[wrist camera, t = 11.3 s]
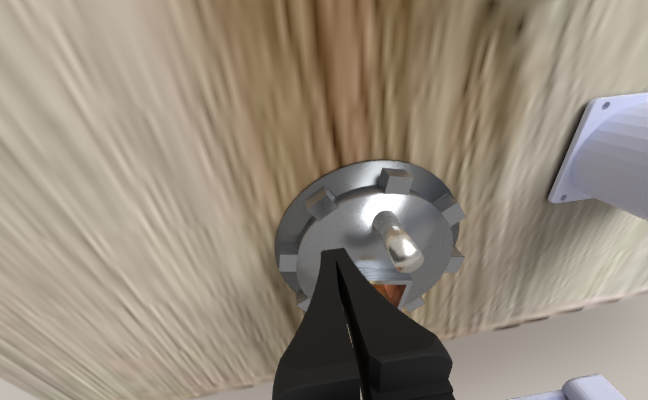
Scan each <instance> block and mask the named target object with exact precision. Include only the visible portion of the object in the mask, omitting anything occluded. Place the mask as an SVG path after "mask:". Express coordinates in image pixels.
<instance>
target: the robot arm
mask: <svg viewBox="0 0 648 400" xmlns="http://www.w3.org/2000/svg"><path fill="white" fill-rule="evenodd" d="M591 198H596V199H598V200H600V201H603V202H605V203H607V204H609V205H612V206H614V207H616V208H619V209H621V210H623V211H626V212H628V213H630V214H633V215H635V216H637V217H640V218H642V219H644V220H647V221H648V92H645V93H636V94H627V95H619V96H610V97H601V98H595V99H593V100H592V101H590V102H589V103H588V105H587V106H586V109H585V111H584V114H583V116H582V118H581V121H580V123H579V125H578V128H577V130H576V133H575V135H574V137H573V140H572V142H571V144H570V147H569V149H568V152H567V154H566V156H565V159H564V161H563V163H562V166H561V168H560V170H559V173H558V175H557V178H556V180H555V182H554V185H553V187H552V189H551V192H550V194H549V197H548V201H549V202H551V203H554V204H556V203H563V202H570V201H577V200H584V199H591ZM342 307H343V308H342ZM343 310H344V312H343ZM344 314H345V316H344ZM345 317H346V320H345ZM346 321H347V324H348V328H349V332H350V336H351V340H350V336H349V332H348V328H347V324H346ZM351 341H352V343H351ZM352 346H353V347H352ZM452 363H453V362H452V360H451V358H450V356H449V354H448V352H447V350H446V349H445V347H444V346H443V344H442V343H441V341H440V340H439V339H438V337H437V336H436V335H435V334H434V333H432V332H430V331H429V330H427V329H426V328H424V327H422V326H421V325H419V324H418V323H416V322H415V321H414V320H412V319H411V318H409V317H408V316H407V315H405V314H404V313H403V312H401V311H400V310H399V309H398V308H396V307H395V306H394V305H393V304H391V303H390V302H389V301H388V300H387V299H386V298H385V297H384V296H383V295H382V294H381V293H379V292H378V291H377V290H376V289H375V287H374V286H373V285H372V284H371V283H370V282H369V281H368V280H367V279H366V277H365V276H364V275H363V274H362V273H361V271H360V270H359V269H358V268H357V266H356V265H355V263H354V262H353V261H352V259H351V258H350V256H349V254H348V253H347V251H346V249H345V248H337V249H330V250H323V251H322V252H321V262H320V269H319V274H318V279H317V282H316V286H315V289H314V293H313V296H312V299H311V301H310V304H309V307H308V309H307V311H306V314H305V316H304V318H303V320H302V322H301V324H300V326H299V328H298V330H297V332H296V334H295V336H294V338H293V339H292V341H291V343H290V345H289V346H288V348H287V349H286V351H285V352H284V354H283V356H282V357H281V359H280V362H279V365H278V368H277V372H276V375H275V380H274V385H273V394H272V400H360V388H361V393H362V399H363V400H455V398H454V396H453V394H452V393H453V388H452V386H451V384H450V382H449V380H448V378H449V374H450V372H451V368H452ZM507 400H626V399H625V398H624V397H623V396H622V395H621V394H620V393H619V392H618V391H617V390H616V389H615V388H614V387H613V386H612V385H611V384H610V383H609V382H608V381H607V380H606V379H605V378H604V377H603V376H602V375H600V374H594V375H588V376H582V377H577V378H573V379H570V380H568V381H567V382H566V383H565V384H564V385H563V387H562V390H557V391H551V392H546V393H540V394H535V395H529V396H524V397H518V398H513V399H507Z"/></svg>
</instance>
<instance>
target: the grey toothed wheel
mask: <svg viewBox="0 0 648 400" xmlns="http://www.w3.org/2000/svg"><path fill="white" fill-rule="evenodd" d="M412 181H413V177H412V176H411V175H410V174H409V173H408V172H407V171H406V170H405V169H393V168H382V170H381V174H380V178H379V182H378V185H369V186H363V187H359V188H356V189H352V190H350V191H347V192H345V193H342V194H340V195H338V196H337V197H334V196H333V195H332V194H331V192H330V191H329V190H328V189H327V188H326V187H325V186H322V187H321V188H320V189H318V190H317V191H316V192H314V193H313V194H312V195H311V196H309V197H308V198H307V199H306V206H307V210H308V211H309V212H310V213H311V214H312V217H311V218H310V219H309V220H308V222H307V223H306V225H305V226H304V228H303V230H302V232H301V234H300V236H299V239H298V242H281V246H280V264H279V272H297V278H298V282H299V284H300V286H301V289H300V290H298V291H297V306H298V307H299V308H301V309H302V310H304V311H305V312H306V311H307V309H308V307H309V304H310V301H311V299H312V296H313V293H314V289H315V286H316V282H317V279H318V274H319V269H320V262H321V252H322V251H323V250H330V249H337V248H345V249H346V251H347V253H348V254H349V256H350V258H351V259H352V261H353V262H354V263H355V265H356V266H357V268H358V269H359V270H360V271H361V273H362V274H363V275H364V276H365V277H366V279H367V280H368V281H369V282H370V283H371V284H372V285H383V286H384V287H385V289H386V292H387V294H388V297H389V299H390V302H391V304H393V305H394V306H395V307H396V308H398V309H399V310H400V311H401V310H402V307H403V306H404V307H405V308H406V309H407V310H408V311H409V312H411V311H413V310H415V309H416V308H418V307H420V306H422V305H423V304H425V302H424V300H423V298H422V297H421V296H422V295H423V294H424V293H425V292H427V291H428V290H429V289H430V288H431V287H432V286H433V285H434V284H435V283H436V282H437V281H438V280H439V278H440V277H441V276H442V274H443V273H444V272H458V270H459V268H460V266H461V264H462V262H463V260H464V258H465V257H464V256H463V255H462V254H461V253H460V252H459V251H458V250H457V248H456V247H455V246H453V235H452V231H451V228H450V227H451V226H452V225H454V224H456V223H457V222H459V221H460V220H462V219H464V218H465V217H466V216H465V214H464V213H463V211H462V209H461V207H460V205H459V204H458V202H457V201H456V200H454V199H453V198H452V197H451V196H449V195H448V194H447V193H445V194H444V195H442V196H441V197H439V198H438V199H436V200H435V201H433V202H432V203H431V202H430V201H429V200H428V199H426V198H425V197H424V196H423V195H421V194H419V193H417V192H416V191H414V190H411V189H410V188H411V184H412ZM342 308H343V307H342ZM343 312H344V310H343ZM344 316H345V314H344ZM345 320H346V317H345ZM346 324H347V321H346ZM347 327H348V324H347Z"/></svg>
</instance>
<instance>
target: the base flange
mask: <svg viewBox="0 0 648 400" xmlns="http://www.w3.org/2000/svg"><path fill="white" fill-rule="evenodd" d="M382 168H393V169H405V170H406V171H407V172H408V173H409V174H410V175H411V176H412V177H413V181H412V184H411V188H410V189H411V190H414V191H416V192H417V193H419V194H421V195H423V196H424V197H425V198H426V199H428V200H429V201H430V202H431V203H432V202H433V201H435V200H436V199H438V198H439V197H441V196H442V195H444V194H445V193H447V194H448V195H449V196H451V197H452V198H453V199H454V197H453V195H452V194H451V192H450V190H449V189H448V188H447V186H446V185H445V184H444V183H443V182H442V181H441V180H440V179H438V178H437V177H436V176H435V175H433V174H432V173H431V172H429V171H427V170H425V169H423V168H422V167H419V166H417V165H414V164H411V163H408V162H403V161H398V160H386V159H379V160H367V161H362V162H356V163H352V164H349V165H346V166H343V167H340V168H338V169H336V170H333V171H331V172H329V173H327V174H325V175H324V176H322V177H320V178H319V179H317V180H315V181H314V182H313V183H312V184H310V185H309V186H308V187H307V188H305V189H304V190H303V191H302V192H301V193H300V194H299V195H298V196H297V197H296V198H295V199H294V201H293V202H292V203H291V205H290V206H289V207H288V209H287V211H286V212H285V214H284V216H283V218H282V220H281V223H280V225H279V228H278V232H277V237H276V247H275V254H276V260H277V265H278V268H279V264H280V246H281V242H298V239H299V236H300V234H301V232H302V230H303V228H304V226H305V225H306V223H307V222H308V220H309V219H310V218H311V217H312V214H311V213H310V212H309V211H308V210H307V206H306V199H307V198H308V197H309V196H311V195H312V194H313V193H314V192H316V191H317V190H318V189H320V188H321V187H322V186H325V187H326V188H327V189H328V190H329V191H330V192H331V194H332V195H333V196H334V197H337V196H338V195H340V194H342V193H345V192H347V191H350V190H352V189H356V188H359V187H363V186H369V185H378V182H379V178H380V174H381V170H382ZM454 200H455V199H454ZM450 228H451V231H452V235H453V246H455V244H456V241H457V237H458V232H459V222H457V223H456V224H454V225H452V226H451V227H450ZM280 273H281V275H282V276H283V278H284V280H285V281H286V283H287V284H288V285H289V286H290V287H291V288H292V289H293V290H294V291H295V292H296V293H297V291H298V290H300V289H301V286H300V284H299V282H298V278H297V272H280Z"/></svg>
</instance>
